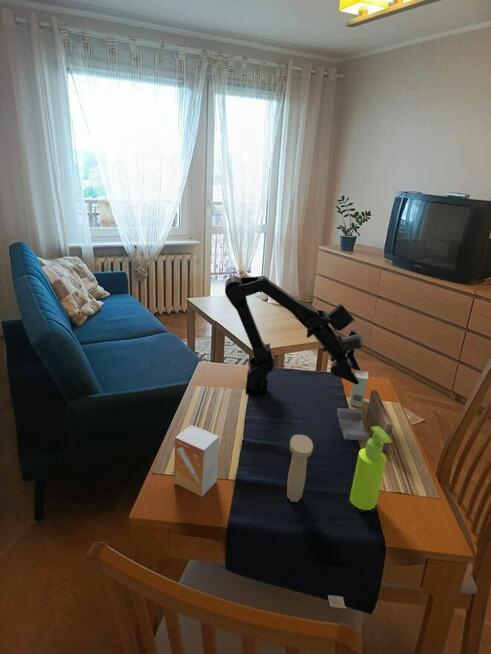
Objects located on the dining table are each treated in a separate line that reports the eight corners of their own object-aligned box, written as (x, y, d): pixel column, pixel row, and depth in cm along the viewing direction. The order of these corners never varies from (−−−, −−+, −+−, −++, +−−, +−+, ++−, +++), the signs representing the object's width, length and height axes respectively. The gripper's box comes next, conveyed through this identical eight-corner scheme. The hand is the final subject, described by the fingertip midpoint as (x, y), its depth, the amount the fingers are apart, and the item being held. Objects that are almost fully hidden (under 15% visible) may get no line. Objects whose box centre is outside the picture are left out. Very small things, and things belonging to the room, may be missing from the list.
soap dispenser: (359, 517, 97) (376, 442, 90) (344, 495, 103) (359, 422, 96) (383, 513, 99) (401, 438, 91) (367, 491, 105) (382, 420, 97)
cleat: (344, 439, 123) (345, 433, 123) (337, 413, 136) (338, 407, 135) (369, 442, 123) (370, 436, 123) (359, 415, 136) (360, 409, 135)
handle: (302, 488, 104) (311, 435, 99) (305, 509, 98) (314, 453, 93) (282, 487, 104) (289, 433, 99) (284, 507, 98) (291, 452, 93)
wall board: (380, 452, 119) (386, 424, 116) (366, 415, 136) (371, 390, 133) (392, 453, 119) (398, 425, 116) (376, 416, 136) (382, 391, 133)
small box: (173, 483, 102) (174, 437, 98) (189, 468, 108) (191, 423, 103) (201, 498, 99) (204, 450, 94) (217, 481, 104) (220, 435, 99)
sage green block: (349, 405, 141) (354, 377, 137) (350, 396, 146) (355, 369, 143) (362, 408, 140) (367, 380, 136) (362, 399, 145) (368, 372, 142)
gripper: (347, 336, 127) (379, 377, 129) (351, 316, 144) (380, 352, 145) (316, 356, 132) (348, 395, 133) (324, 334, 149) (352, 369, 150)
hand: (358, 377), depth 140 cm, fingers open, 9 cm apart
